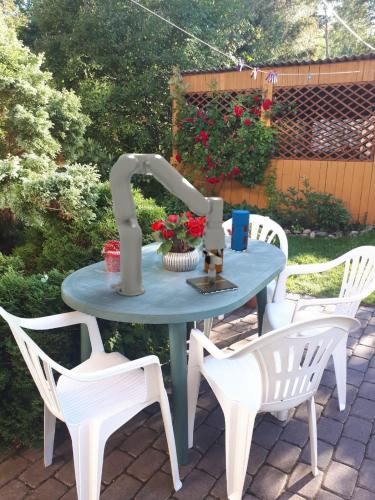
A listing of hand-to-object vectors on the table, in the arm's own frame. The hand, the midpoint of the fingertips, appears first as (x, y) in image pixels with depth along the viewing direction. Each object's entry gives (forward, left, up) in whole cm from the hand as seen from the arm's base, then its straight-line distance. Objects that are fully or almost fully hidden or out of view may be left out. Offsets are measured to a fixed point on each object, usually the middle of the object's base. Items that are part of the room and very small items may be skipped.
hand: (212, 262), depth 175 cm
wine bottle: (+12, +19, -12) cm, 25 cm away
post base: (0, 0, -12) cm, 12 cm away
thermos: (+49, +50, -12) cm, 71 cm away
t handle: (0, +1, -3) cm, 3 cm away
